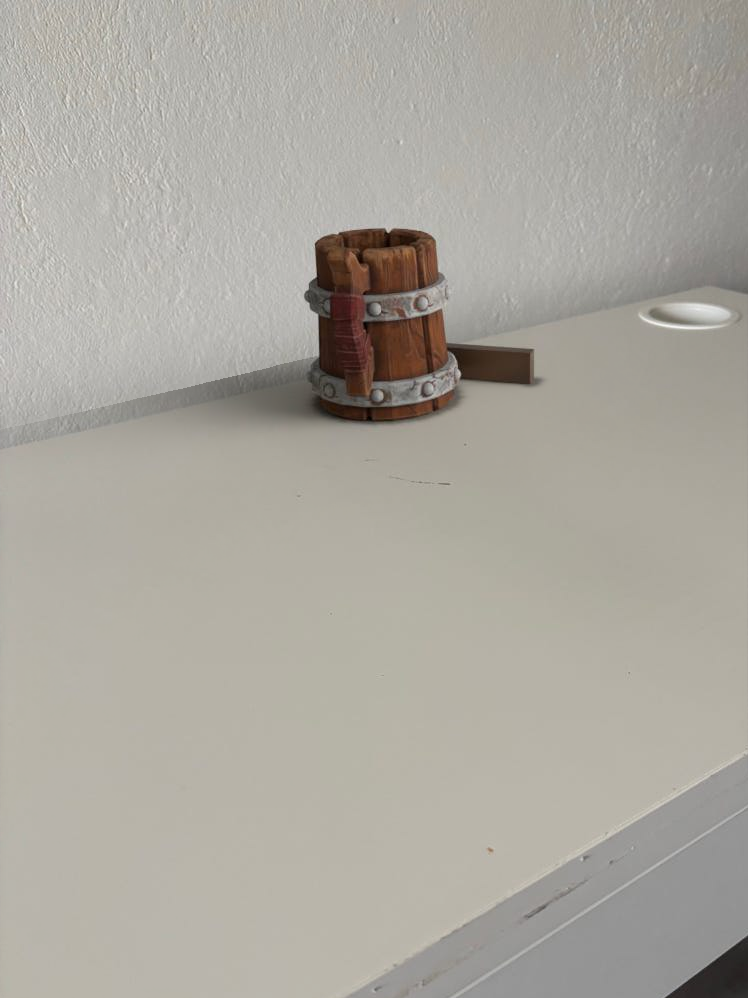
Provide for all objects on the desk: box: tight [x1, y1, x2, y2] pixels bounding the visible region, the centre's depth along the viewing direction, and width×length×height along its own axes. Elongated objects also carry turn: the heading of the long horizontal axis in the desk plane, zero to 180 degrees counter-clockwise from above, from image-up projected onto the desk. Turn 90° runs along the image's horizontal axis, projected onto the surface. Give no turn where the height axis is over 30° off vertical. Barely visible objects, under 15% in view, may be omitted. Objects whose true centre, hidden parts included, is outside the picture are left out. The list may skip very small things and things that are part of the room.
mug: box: [303, 227, 461, 422], centre depth 76 cm, size 12×14×15 cm
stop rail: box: [446, 342, 535, 385], centre depth 84 cm, size 14×1×2 cm, turn 72°
